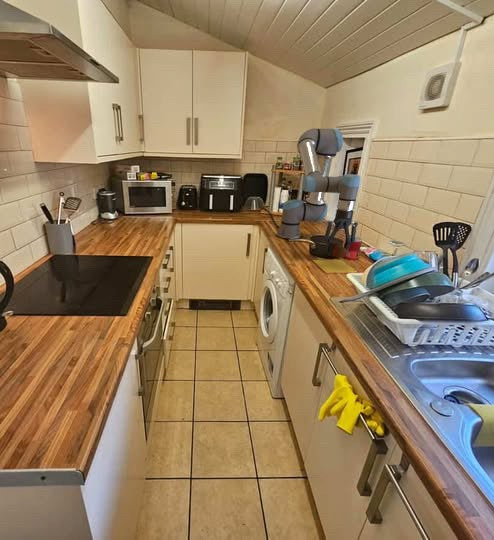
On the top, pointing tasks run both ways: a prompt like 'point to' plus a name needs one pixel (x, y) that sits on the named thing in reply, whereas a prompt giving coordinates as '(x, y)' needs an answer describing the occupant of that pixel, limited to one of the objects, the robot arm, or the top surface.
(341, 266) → the tea towel
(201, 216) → the top surface
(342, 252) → the potato
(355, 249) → the canned food
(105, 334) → the top surface
